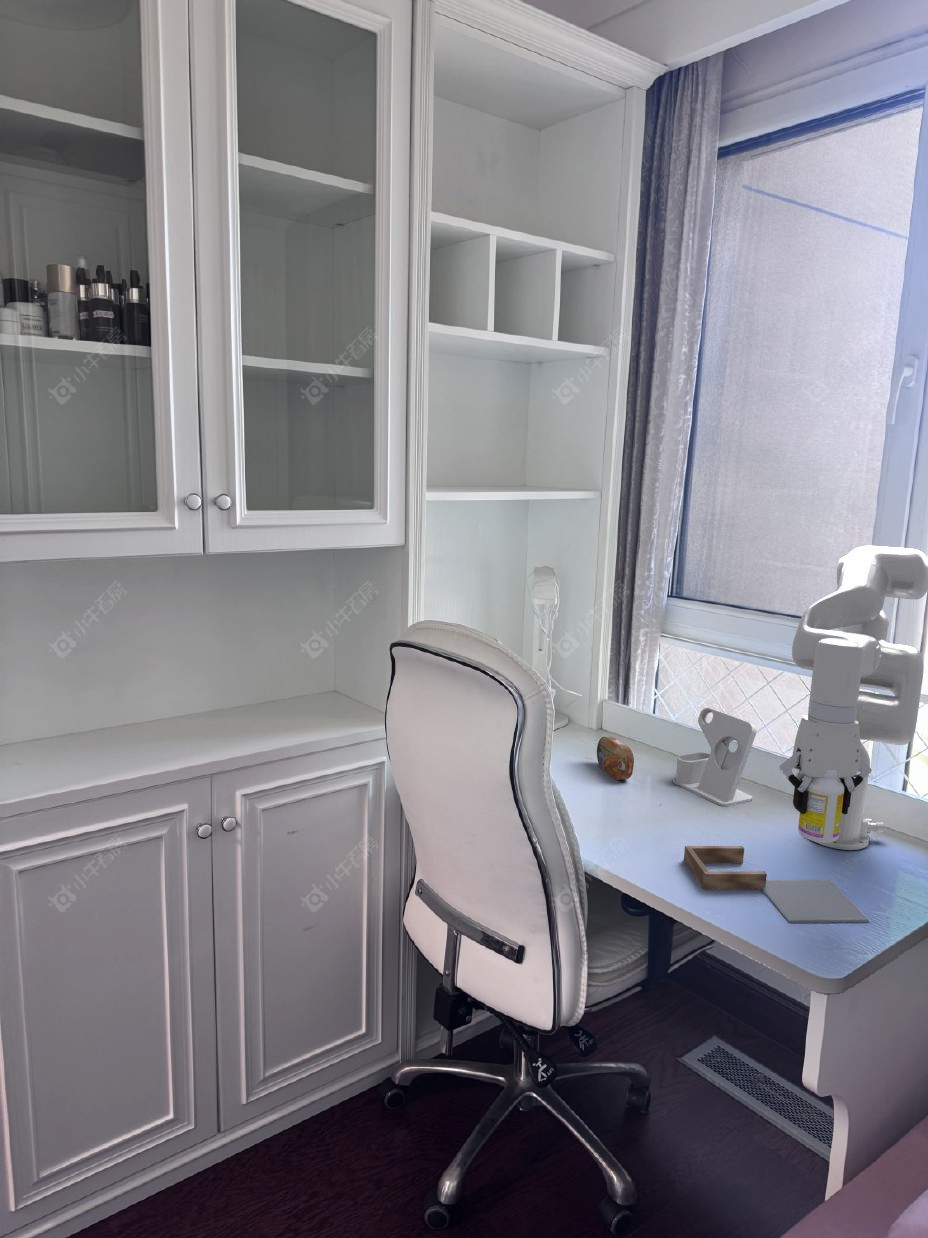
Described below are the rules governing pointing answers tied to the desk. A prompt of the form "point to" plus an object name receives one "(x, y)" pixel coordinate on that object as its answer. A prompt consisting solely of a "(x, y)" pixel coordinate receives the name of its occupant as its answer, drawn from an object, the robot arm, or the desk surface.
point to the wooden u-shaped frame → (721, 879)
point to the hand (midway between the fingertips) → (820, 810)
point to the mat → (812, 901)
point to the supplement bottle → (823, 809)
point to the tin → (615, 758)
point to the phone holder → (718, 760)
